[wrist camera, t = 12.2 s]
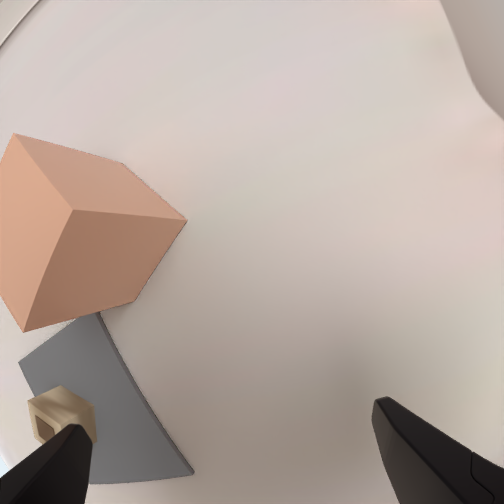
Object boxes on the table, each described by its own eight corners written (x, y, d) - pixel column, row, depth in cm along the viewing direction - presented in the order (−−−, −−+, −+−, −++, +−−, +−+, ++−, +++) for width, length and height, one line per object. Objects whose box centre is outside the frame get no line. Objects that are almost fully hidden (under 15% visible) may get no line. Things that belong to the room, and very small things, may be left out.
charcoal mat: (194, 472, 19) (192, 475, 19) (92, 482, 23) (90, 484, 23) (96, 306, 21) (92, 308, 20) (21, 361, 24) (18, 362, 24)
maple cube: (94, 405, 21) (59, 425, 17) (97, 441, 22) (66, 463, 18) (60, 385, 22) (26, 400, 18) (64, 420, 23) (34, 438, 19)
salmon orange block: (187, 220, 19) (73, 209, 10) (134, 301, 20) (23, 332, 11) (122, 163, 20) (13, 132, 11) (79, 240, 21) (-27, 242, 12)
